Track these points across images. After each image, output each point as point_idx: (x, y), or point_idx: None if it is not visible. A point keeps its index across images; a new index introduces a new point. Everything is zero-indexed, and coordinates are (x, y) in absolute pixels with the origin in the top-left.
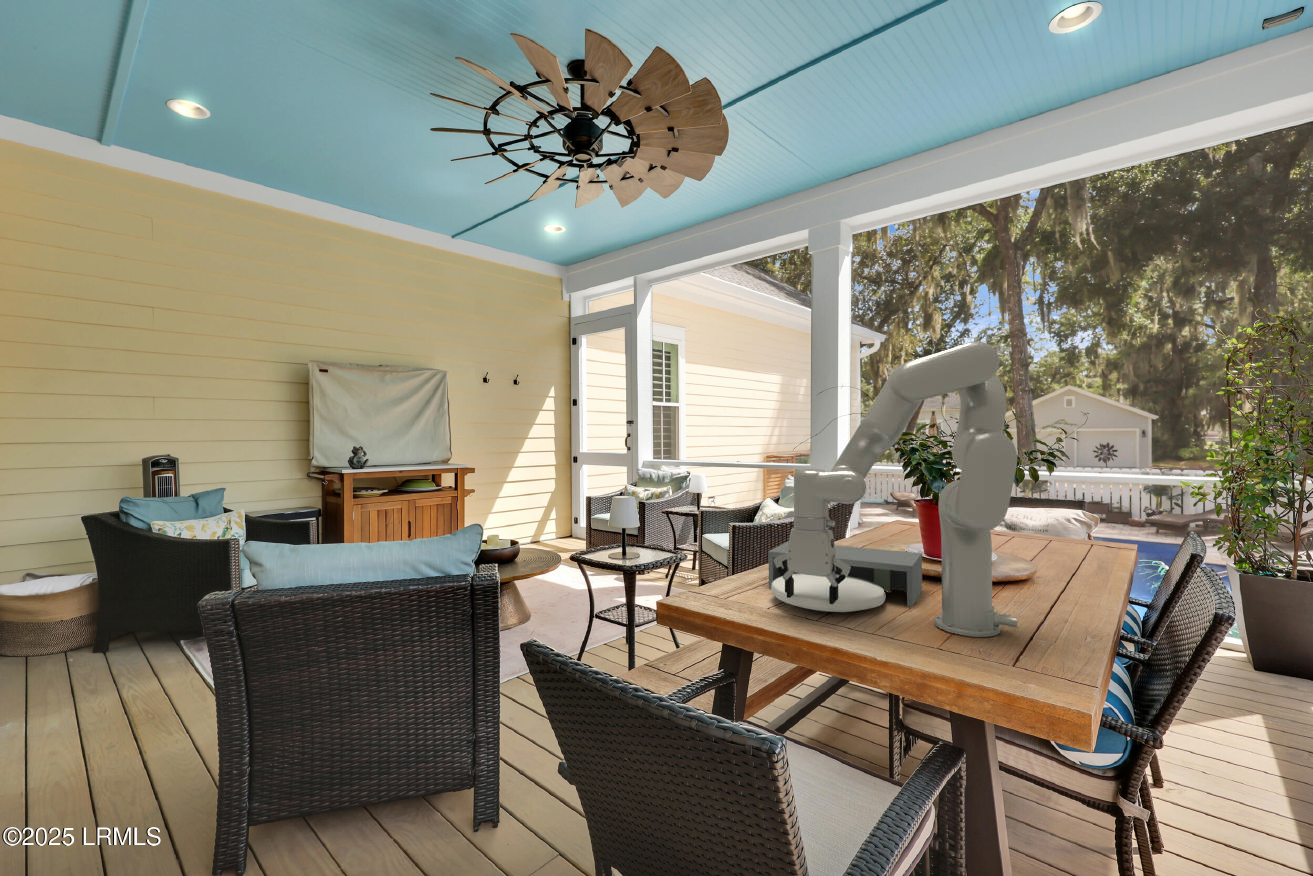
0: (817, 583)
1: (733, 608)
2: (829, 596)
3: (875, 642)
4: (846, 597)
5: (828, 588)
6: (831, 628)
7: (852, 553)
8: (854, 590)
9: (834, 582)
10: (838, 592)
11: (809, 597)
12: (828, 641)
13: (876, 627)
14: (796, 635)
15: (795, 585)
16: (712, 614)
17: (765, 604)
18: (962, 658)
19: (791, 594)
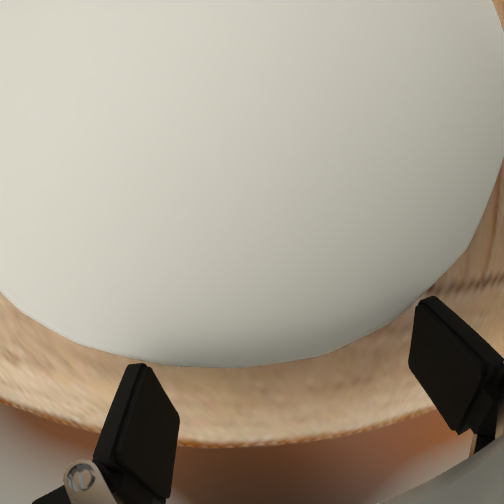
0: (172, 62)
1: (12, 349)
2: (427, 391)
3: (483, 332)
4: (473, 208)
5: (349, 138)
6: (380, 333)
7: None
8: (473, 56)
9: (493, 434)
10: (435, 171)
11: (270, 362)
12: (389, 407)
13: (489, 217)
14: (302, 432)
15: (39, 231)
16: (39, 409)
17: None
18: None
19: (166, 407)
